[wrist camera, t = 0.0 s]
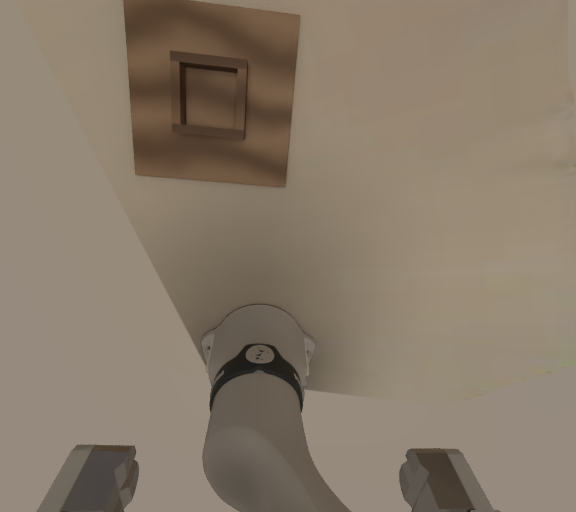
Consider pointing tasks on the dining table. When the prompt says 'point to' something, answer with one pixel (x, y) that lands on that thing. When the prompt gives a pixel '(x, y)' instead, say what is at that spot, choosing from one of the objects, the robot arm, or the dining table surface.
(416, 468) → the robot arm
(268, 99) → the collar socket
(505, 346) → the dining table surface
